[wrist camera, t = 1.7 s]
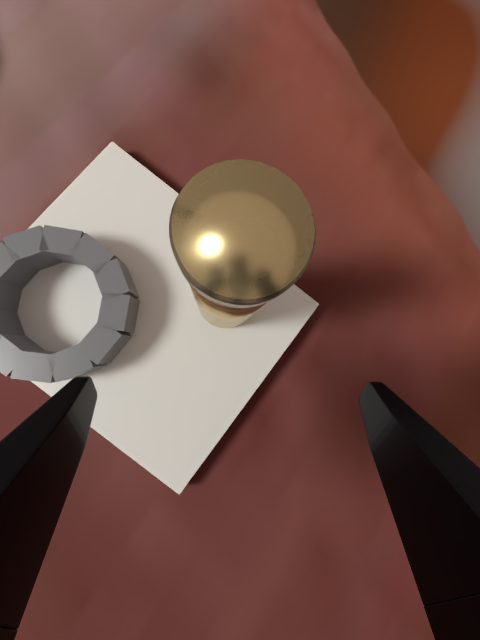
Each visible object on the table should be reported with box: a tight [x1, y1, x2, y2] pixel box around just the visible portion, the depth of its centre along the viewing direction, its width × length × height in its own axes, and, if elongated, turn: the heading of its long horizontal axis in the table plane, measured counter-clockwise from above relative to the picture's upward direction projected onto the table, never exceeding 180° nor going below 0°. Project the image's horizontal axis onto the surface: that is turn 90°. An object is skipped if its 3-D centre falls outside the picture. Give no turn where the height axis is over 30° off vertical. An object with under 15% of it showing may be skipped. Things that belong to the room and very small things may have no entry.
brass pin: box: [169, 159, 315, 328], centre depth 14 cm, size 4×4×12 cm
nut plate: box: [0, 142, 319, 494], centre depth 19 cm, size 19×16×3 cm
